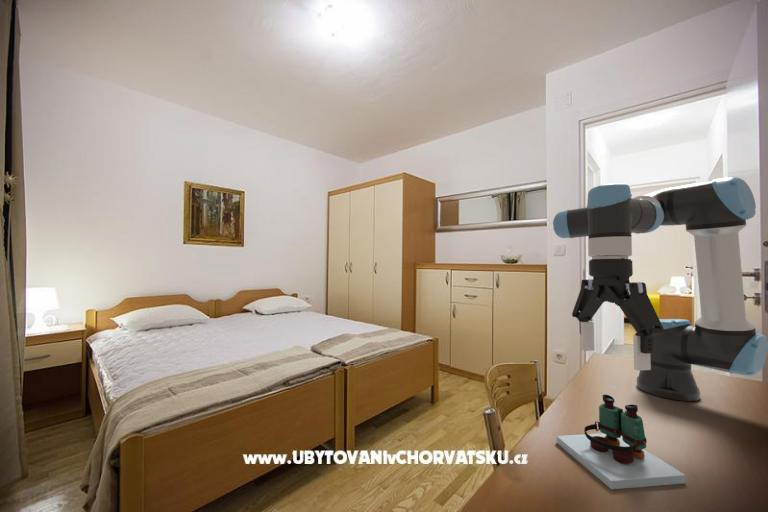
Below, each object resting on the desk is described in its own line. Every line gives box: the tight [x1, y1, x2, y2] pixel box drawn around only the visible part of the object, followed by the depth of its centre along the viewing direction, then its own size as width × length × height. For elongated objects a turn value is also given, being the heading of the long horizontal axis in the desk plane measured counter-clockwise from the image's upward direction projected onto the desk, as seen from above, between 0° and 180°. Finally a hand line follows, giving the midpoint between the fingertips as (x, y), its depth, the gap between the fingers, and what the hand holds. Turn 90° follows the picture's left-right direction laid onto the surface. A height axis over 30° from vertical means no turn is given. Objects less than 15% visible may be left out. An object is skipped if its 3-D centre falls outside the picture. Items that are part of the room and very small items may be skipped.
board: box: [556, 432, 686, 490], centre depth 65 cm, size 15×15×2 cm
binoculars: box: [583, 394, 647, 464], centre depth 65 cm, size 9×11×10 cm
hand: (612, 359), depth 66 cm, fingers open, 13 cm apart
